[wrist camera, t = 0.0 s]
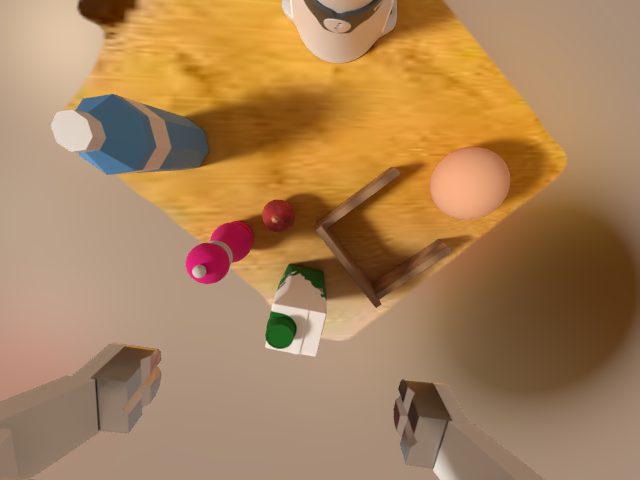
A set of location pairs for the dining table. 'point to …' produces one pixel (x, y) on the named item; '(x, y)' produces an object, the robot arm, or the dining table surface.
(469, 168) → the rubber ball
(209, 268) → the pepper mill
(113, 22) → the dining table surface
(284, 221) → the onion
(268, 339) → the milk carton
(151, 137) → the water bottle
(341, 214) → the corral
